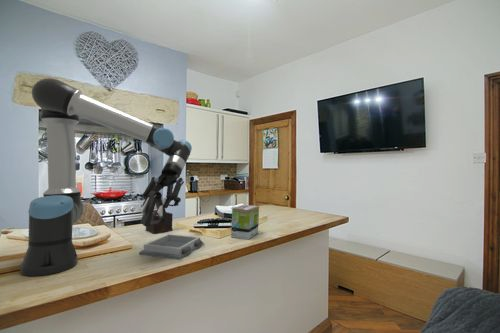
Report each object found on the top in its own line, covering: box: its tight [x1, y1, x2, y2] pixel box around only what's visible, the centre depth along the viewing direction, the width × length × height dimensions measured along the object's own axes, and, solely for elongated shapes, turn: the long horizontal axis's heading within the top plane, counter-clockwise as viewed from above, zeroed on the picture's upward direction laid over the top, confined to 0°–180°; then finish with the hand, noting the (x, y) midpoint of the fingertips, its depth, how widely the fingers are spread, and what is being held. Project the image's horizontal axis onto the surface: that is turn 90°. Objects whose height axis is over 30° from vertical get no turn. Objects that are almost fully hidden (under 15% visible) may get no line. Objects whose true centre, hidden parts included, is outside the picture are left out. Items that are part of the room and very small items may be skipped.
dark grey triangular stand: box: [139, 191, 170, 227], centre depth 95 cm, size 9×6×12 cm, turn 126°
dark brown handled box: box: [145, 196, 182, 235], centre depth 140 cm, size 16×11×18 cm
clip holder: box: [138, 233, 204, 260], centre depth 107 cm, size 19×20×4 cm
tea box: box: [230, 204, 260, 240], centre depth 133 cm, size 15×10×15 cm, turn 161°
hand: (151, 213), depth 93 cm, fingers closed on dark grey triangular stand, 6 cm apart
